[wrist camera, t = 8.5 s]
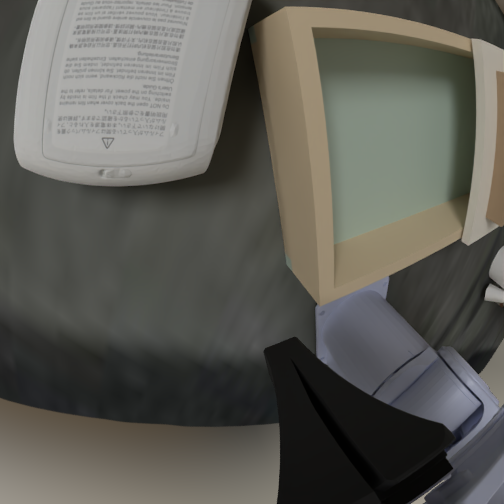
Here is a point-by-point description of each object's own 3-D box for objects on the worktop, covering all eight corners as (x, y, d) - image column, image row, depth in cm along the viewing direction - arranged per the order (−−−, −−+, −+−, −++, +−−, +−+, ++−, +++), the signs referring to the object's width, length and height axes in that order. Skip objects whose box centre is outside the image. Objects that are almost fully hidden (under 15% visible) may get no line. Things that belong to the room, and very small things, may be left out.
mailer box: (480, 189, 26) (512, 207, 22) (286, 264, 21) (319, 306, 17) (483, 55, 17) (522, 62, 13) (247, 28, 13) (285, 6, 9)
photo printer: (68, -31, 7) (33, 172, 13) (50, -61, 4) (3, 198, 9) (246, -20, 11) (205, 176, 16) (276, -47, 7) (222, 202, 13)
